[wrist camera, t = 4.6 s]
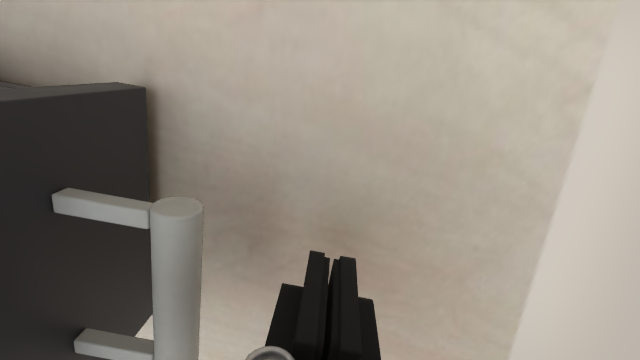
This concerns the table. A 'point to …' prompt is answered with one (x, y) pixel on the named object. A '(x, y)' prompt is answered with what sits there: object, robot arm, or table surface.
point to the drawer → (91, 231)
